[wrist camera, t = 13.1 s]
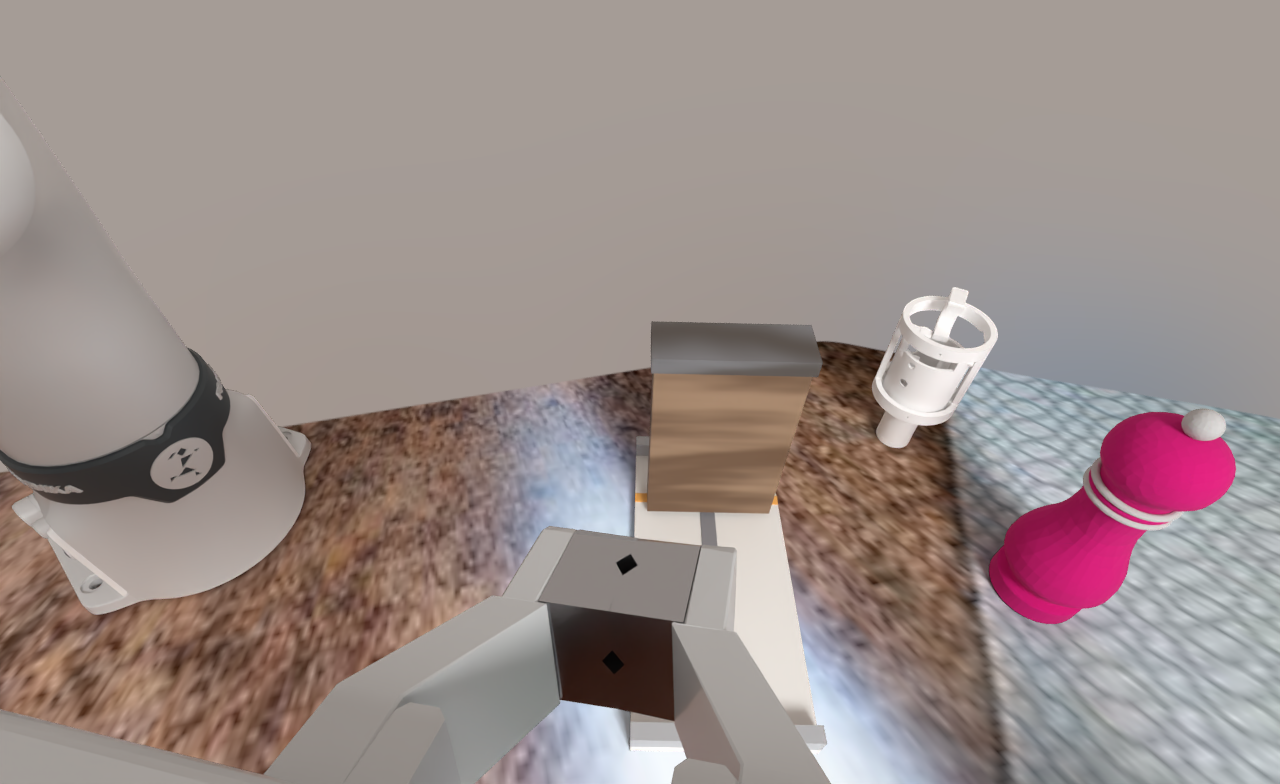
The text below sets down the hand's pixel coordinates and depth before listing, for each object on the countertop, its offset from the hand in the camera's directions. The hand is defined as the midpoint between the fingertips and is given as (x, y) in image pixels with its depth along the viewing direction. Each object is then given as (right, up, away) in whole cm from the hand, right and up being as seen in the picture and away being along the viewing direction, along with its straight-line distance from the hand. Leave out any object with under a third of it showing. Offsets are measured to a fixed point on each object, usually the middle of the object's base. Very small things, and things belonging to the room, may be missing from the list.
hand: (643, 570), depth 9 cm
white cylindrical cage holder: (+24, -2, +47) cm, 53 cm away
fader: (+6, -6, +40) cm, 41 cm away
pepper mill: (+30, -12, +37) cm, 50 cm away
